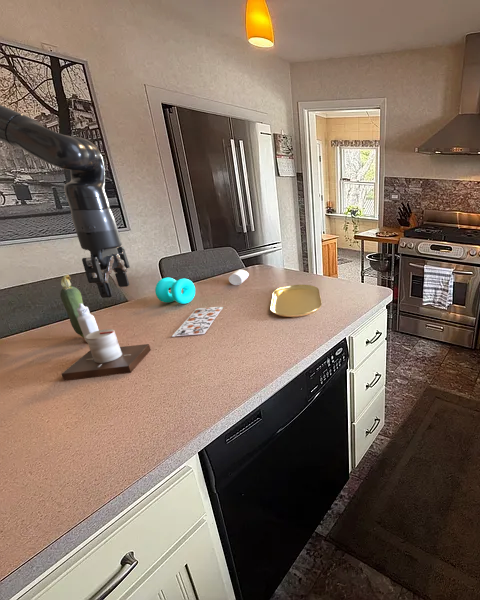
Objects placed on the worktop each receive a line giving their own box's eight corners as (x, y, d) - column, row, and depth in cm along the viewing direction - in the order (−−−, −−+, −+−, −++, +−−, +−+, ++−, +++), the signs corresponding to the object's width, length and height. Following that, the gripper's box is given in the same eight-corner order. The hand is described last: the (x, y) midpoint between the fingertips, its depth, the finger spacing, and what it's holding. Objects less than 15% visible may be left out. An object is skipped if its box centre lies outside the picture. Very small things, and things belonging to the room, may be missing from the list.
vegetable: (72, 338, 100) (48, 275, 93) (88, 332, 104) (66, 271, 97) (83, 339, 99) (59, 277, 92) (98, 333, 103) (77, 273, 96)
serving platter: (317, 286, 149) (317, 283, 149) (324, 315, 118) (323, 311, 117) (274, 289, 144) (274, 286, 143) (269, 321, 113) (268, 317, 112)
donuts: (180, 308, 123) (173, 283, 120) (157, 306, 125) (150, 281, 121) (199, 299, 132) (194, 275, 129) (177, 297, 134) (171, 274, 130)
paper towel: (196, 308, 123) (223, 306, 125) (196, 308, 123) (223, 306, 125) (171, 336, 101) (204, 333, 103) (171, 337, 101) (204, 334, 103)
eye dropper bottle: (105, 334, 102) (92, 299, 98) (101, 342, 98) (87, 305, 93) (86, 338, 100) (73, 301, 96) (81, 345, 96) (67, 308, 91)
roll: (252, 277, 161) (250, 266, 159) (242, 285, 149) (240, 273, 147) (240, 277, 160) (238, 266, 158) (229, 285, 149) (227, 273, 147)
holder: (64, 380, 79) (60, 373, 79) (92, 356, 90) (90, 349, 90) (131, 372, 83) (128, 365, 82) (150, 349, 94) (148, 343, 93)
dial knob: (89, 364, 83) (79, 338, 80) (101, 353, 88) (93, 329, 85) (115, 361, 84) (106, 336, 82) (126, 350, 89) (118, 327, 87)
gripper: (94, 224, 83) (113, 284, 89) (57, 233, 71) (81, 302, 76) (129, 223, 85) (145, 282, 91) (99, 232, 73) (119, 300, 78)
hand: (116, 291), depth 84 cm, fingers open, 8 cm apart
